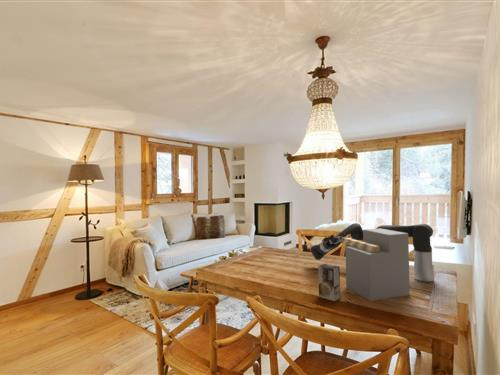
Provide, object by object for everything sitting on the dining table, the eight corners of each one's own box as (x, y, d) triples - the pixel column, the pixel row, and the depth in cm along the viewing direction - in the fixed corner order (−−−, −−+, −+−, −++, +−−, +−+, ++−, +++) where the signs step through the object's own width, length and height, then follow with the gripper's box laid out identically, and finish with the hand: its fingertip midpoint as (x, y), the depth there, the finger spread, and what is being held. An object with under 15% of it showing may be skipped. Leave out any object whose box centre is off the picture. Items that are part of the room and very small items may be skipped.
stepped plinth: (346, 287, 157) (345, 230, 157) (381, 282, 163) (380, 228, 164) (370, 300, 138) (369, 236, 138) (409, 295, 144) (408, 233, 144)
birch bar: (341, 242, 168) (341, 237, 168) (346, 242, 169) (346, 236, 169) (374, 252, 141) (374, 246, 141) (379, 252, 142) (379, 245, 142)
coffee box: (340, 298, 142) (340, 266, 142) (334, 301, 138) (333, 269, 138) (324, 293, 149) (324, 263, 149) (318, 296, 144) (317, 265, 144)
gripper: (338, 249, 186) (351, 240, 173) (319, 250, 182) (331, 242, 169) (335, 238, 190) (347, 229, 176) (316, 239, 186) (327, 230, 172)
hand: (339, 235), depth 172 cm, fingers open, 8 cm apart
